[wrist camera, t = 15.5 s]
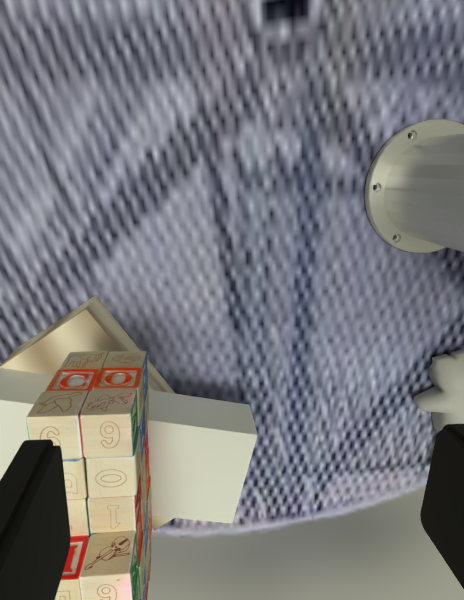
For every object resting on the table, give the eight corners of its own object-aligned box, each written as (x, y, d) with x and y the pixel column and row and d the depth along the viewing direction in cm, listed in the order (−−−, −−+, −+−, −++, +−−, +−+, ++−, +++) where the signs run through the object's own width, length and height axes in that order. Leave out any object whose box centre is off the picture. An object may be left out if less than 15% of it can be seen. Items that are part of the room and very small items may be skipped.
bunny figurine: (508, 350, 44) (524, 473, 47) (476, 337, 49) (492, 449, 52) (422, 374, 44) (443, 497, 47) (399, 358, 49) (420, 470, 52)
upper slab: (-5, 366, 38) (-32, 395, 33) (249, 404, 42) (257, 434, 37) (-13, 458, 41) (-38, 497, 36) (227, 485, 45) (232, 523, 40)
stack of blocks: (67, 349, 33) (3, 448, 21) (148, 348, 34) (128, 444, 22) (85, 558, 39) (43, 722, 28) (153, 553, 40) (139, 712, 28)
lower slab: (97, 293, 42) (86, 309, 37) (226, 452, 49) (231, 483, 45) (17, 346, 43) (-3, 368, 38) (157, 495, 50) (154, 529, 46)
